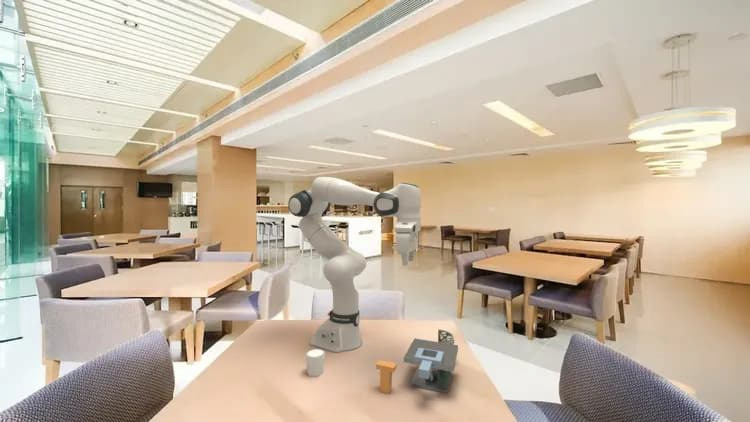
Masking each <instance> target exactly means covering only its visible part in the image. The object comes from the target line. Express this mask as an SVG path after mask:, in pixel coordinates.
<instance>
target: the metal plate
mask: <svg viewBox="0 0 750 422" xmlns="http://www.w3.org/2000/svg"><path fill="white" fill-rule="evenodd" d="M418 348H424V349H430V350H436V351H442V352H444V357H443V360H442V364H441V366H437V365H432V371H431V374H430V377H429V379H425V378H420V377H419V367H420V365H421V362H415V361H414V356H415V354H416V352H417V350H418ZM458 351H459V345H457V344H446V343H440V342H438V341H432V340H427V339H421V338H413V341H412V342H411V344H410V346H409V347H408V349H407V350H406V353H405V354H404V356H403V363H405V364H410V365H411V364H412V365H416V366H417V368H416V370H415V373H414V374H413V377H412V378H411V382H410V387H414V388H419V389H424V390H428V391H432V392H437V393H442V394H446V395H447V394H448V392H449V388H450V384H451V379H452V372H454V370H455V366H456V362H457V356H458ZM423 356H428V357H434V358H436V356H435V355H429V354H424V355H423Z"/></svg>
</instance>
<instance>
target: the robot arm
mask: <svg viewBox="0 0 750 422" xmlns="http://www.w3.org/2000/svg"><path fill="white" fill-rule="evenodd" d="M332 205H337V206H355V205H356V206H360V205H363V206H371V207H373V210H374V212H375V213H376V214H377V215H378V216H380V217H385V218H387V217H388V218H390V217H392V218H394V217H395V218H396V225H394V233H396V234H395V244H396V245H395V246H396V247H395V248H396V252H397V254H398V255H400V256H401V261H402V262H401V263H402V264H401V265H402V266H408V265H409V262H414V256H415V251H416V249H418V247H419V232H421V222H422V221H421V219H422V218H421V214H420V212H421V211H420V210H421V208H422V207H421V206H422V200H421V191H420V188H419V186H418V185H416V184H414V183H408V182H400V183H399V184H397V185H396V186H395V187H393V188H390V189H388V190H387V191H386V190H385V191H383V192H377V191H373V190H369V189H367V188H364V187H361V186H359V185H356V184H355V183H353V182H350V181H347V180H344V179H341V178H338V177H333V176H318V177H317V178H314V179H313V182H312V183H311V187H310V189H309V190H306V189H304V190H301V191H299V192H296V193H294V194H292V196H290V198H289V199H288V204H287V206H288V210H289V212H290V213H291V215H292V216H294V217H299V218H301V219H300V220H299V223H298V227H299V230H300V232H301V233H302V234H303V237H304V238H305V240H307V242H308V243H309V244H310V246H311V247H312V248H313V249H314V250H315V251H316V253H317V254H318V255H319V256H320V257H322V258H325V259H326V262H325V263H324V265H323V270H322V271H323V275H324V277H325V280H326V281H328V282H329V284H330V287H331V290H332V292H331V293H332V309H331V310H330V311H329V312H328V313H327V317H329V318H328V319H327V320H325V321H323V323H321V324H320V325H319V326H318V327H317V329H316V332H315V335H313V336H312V337H311V339H310V342H309V344H310V345H311V346H314V347H317V348H319V349H322V350H327V351H330V352H332V353H340V352H344V351H351V350H352V351H353V350H355V349H358V348H359V347H361V345H362V344H363V342H362V341H363V340H362V338H361V332H360V319H361V318H360V310H359V305H360V303H359V302H360V301H359V297H360V295H359V292H358V290H357V289H356V288H355V284H354V278H355V277H358V276H359V275H361V274H362V273H363V272H364V270H365V269H366V267H367V259H366V257H365V255H364V254H362V253H361V252H358V251H356V250H354V249H353V248H352V247H350V246H349V245H348V244H347V243H345V242H344V241H342V240H341V239H340V238H339V237H338V236H337V235H336V233H334V232H333V230H332V229H331V228H330V227H329V226H328V225H327V224H326V223H325V221H324V220H323V217H326V216H327V213H328V211H329V210H330V208H331V206H332Z"/></svg>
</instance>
